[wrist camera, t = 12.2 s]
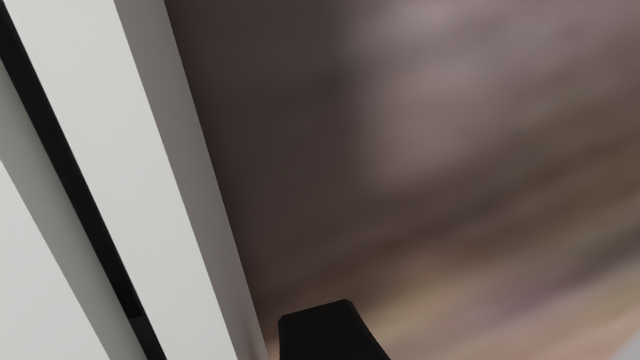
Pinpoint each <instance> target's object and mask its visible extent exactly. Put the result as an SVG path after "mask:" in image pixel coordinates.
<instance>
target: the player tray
mask: <svg viewBox="0 0 640 360" xmlns="http://www.w3.org/2000/svg"><path fill="white" fill-rule="evenodd" d="M0 59H1V61H2V63H3V65H4V67H5V69H6V71H7V73H8V75H9V77H10V79H11V81H12V83H13V85H14V87H15V89H16V91H17V93H18V95H19V97H20V100H21V102H22V104H23V106H24V108H25V110H26V112H27V114H28V116H29V118H30V120H31V122H32V124H33V126H34V128H35V130H36V132H37V134H38V136H39V138H40V140H41V143H42V145H43V147H44V149H45V151H46V153H47V155H48V157H49V159H50V161H51V163H52V165H53V167H54V169H55V171H56V173H57V175H58V177H59V179H60V181H61V183H62V186H63V188H64V190H65V192H66V194H67V196H68V198H69V200H70V202H71V204H72V206H73V208H74V210H75V212H76V214H77V216H78V218H79V220H80V222H81V224H82V226H83V229H84V231H85V233H86V235H87V237H88V239H89V241H90V243H91V245H92V247H93V249H94V251H95V253H96V255H97V257H98V259H99V261H100V263H101V265H102V267H103V269H104V272H105V274H106V276H107V278H108V280H109V282H110V284H111V286H112V288H113V290H114V292H115V294H116V296H117V298H118V300H119V302H120V304H121V306H122V308H123V310H124V312H125V315H126V317H127V319H128V321H129V323H130V325H131V327H132V329H133V331H134V333H135V335H136V337H137V339H138V341H139V343H140V345H141V347H142V349H143V351H144V353H145V355H146V358H147V360H269V358H268V353H267V349H266V346H265V342H264V339H263V336H262V332H261V329H260V326H259V322H258V319H257V315H256V312H255V309H254V305H253V302H252V298H251V295H250V292H249V288H248V285H247V281H246V278H245V275H244V271H243V268H242V265H241V261H240V258H239V254H238V251H237V248H236V244H235V241H234V237H233V234H232V231H231V227H230V224H229V221H228V217H227V214H226V210H225V207H224V204H223V200H222V197H221V193H220V190H219V187H218V183H217V180H216V176H215V173H214V170H213V166H212V163H211V160H210V156H209V153H208V149H207V146H206V143H205V139H204V136H203V132H202V129H201V126H200V122H199V119H198V115H197V112H196V109H195V105H194V102H193V99H192V95H191V92H190V88H189V85H188V82H187V78H186V75H185V71H184V68H183V65H182V61H181V58H180V55H179V51H178V48H177V44H176V41H175V38H174V34H173V31H172V27H171V24H170V21H169V17H168V14H167V10H166V7H165V4H164V0H0Z"/></svg>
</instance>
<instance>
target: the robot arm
mask: <svg viewBox="0 0 640 360" xmlns="http://www.w3.org/2000/svg"><path fill="white" fill-rule="evenodd" d="M278 329H279V343H280V360H391V359H390V358H389V357H388V355H387V354H386V353H385V351H384V350H383V349H382V347H381V346H380V345H379V343H378V342H377V341H376V339H375V338H374V336H373V335H372V334H371V332H370V331H369V329H368V328H367V326H366V325H365V323H364V322H363V320H362V319H361V317H360V315H359V314H358V312H357V310H356V309H355V307H354V305H353V303H352V302H351V301H349V300H347V299H343V300H339V301H336V302H332V303H328V304H324V305H320V306H317V307H313V308H309V309H305V310H302V311H298V312H294V313H290V314H286V315H283V316H282V317H281V318H280V319H279V321H278Z"/></svg>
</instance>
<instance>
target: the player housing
mask: <svg viewBox="0 0 640 360" xmlns="http://www.w3.org/2000/svg"><path fill="white" fill-rule="evenodd" d="M0 360H147V358H146V355H145V353H144V351H143V349H142V347H141V345H140V343H139V341H138V339H137V337H136V335H135V333H134V331H133V329H132V327H131V325H130V323H129V321H128V319H127V317H126V315H125V312H124V310H123V308H122V306H121V304H120V302H119V300H118V298H117V296H116V294H115V292H114V290H113V288H112V286H111V284H110V282H109V280H108V278H107V276H106V274H105V272H104V269H103V267H102V265H101V263H100V261H99V259H98V257H97V255H96V253H95V251H94V249H93V247H92V245H91V243H90V241H89V239H88V237H87V235H86V233H85V231H84V229H83V226H82V224H81V222H80V220H79V218H78V216H77V214H76V212H75V210H74V208H73V206H72V204H71V202H70V200H69V198H68V196H67V194H66V192H65V190H64V188H63V186H62V183H61V181H60V179H59V177H58V175H57V173H56V171H55V169H54V167H53V165H52V163H51V161H50V159H49V157H48V155H47V153H46V151H45V149H44V147H43V145H42V143H41V140H40V138H39V136H38V134H37V132H36V130H35V128H34V126H33V124H32V122H31V120H30V118H29V116H28V114H27V112H26V110H25V108H24V106H23V104H22V102H21V100H20V97H19V95H18V93H17V91H16V89H15V87H14V85H13V83H12V81H11V79H10V77H9V75H8V73H7V71H6V69H5V67H4V65H3V63H2V61H1V59H0Z"/></svg>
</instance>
